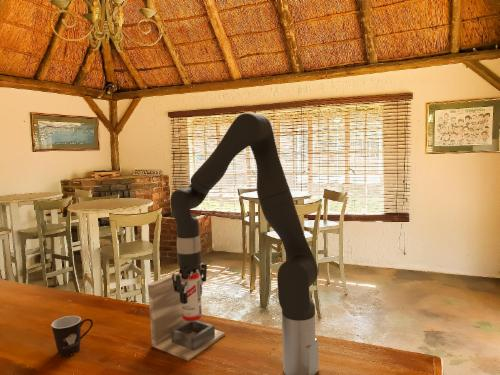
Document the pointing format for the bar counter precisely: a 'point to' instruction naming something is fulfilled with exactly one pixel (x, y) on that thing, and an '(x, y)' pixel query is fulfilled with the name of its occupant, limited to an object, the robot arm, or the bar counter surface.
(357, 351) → the bar counter surface
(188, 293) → the beer can
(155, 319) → the can rack
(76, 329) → the coffee mug
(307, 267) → the robot arm
